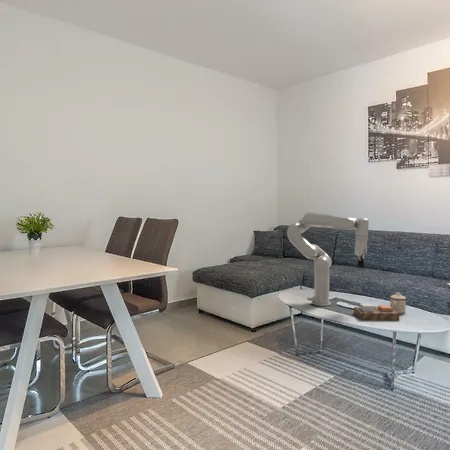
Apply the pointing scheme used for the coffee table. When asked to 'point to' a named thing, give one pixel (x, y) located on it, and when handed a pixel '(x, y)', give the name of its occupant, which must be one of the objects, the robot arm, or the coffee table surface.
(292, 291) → the coffee table surface
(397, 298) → the teacup with lid
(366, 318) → the brown slotted base
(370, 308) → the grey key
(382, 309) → the salmon orange block
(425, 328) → the coffee table surface
